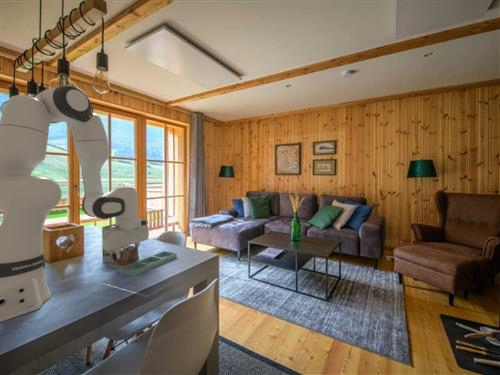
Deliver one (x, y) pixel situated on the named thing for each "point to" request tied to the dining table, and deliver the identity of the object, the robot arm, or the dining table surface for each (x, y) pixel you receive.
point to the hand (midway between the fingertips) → (127, 255)
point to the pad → (118, 265)
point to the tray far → (166, 255)
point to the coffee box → (108, 255)
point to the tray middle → (152, 261)
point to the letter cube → (128, 255)
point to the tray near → (134, 269)
